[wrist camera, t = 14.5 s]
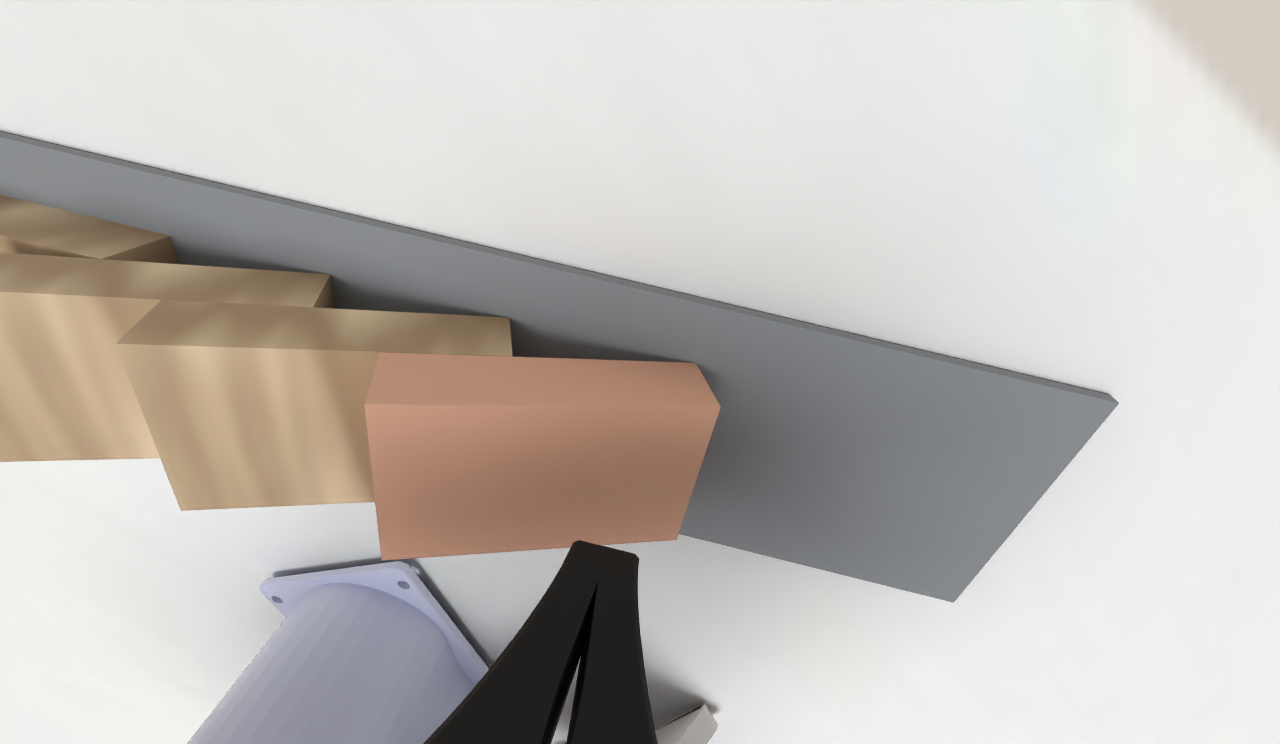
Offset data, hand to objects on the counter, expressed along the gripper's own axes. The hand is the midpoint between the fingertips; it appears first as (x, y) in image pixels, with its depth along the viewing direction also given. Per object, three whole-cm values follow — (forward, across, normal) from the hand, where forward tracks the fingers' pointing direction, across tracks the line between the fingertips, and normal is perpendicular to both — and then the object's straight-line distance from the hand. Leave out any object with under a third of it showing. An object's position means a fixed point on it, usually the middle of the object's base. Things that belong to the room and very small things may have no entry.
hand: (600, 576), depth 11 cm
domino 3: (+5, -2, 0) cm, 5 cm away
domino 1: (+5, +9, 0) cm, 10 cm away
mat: (+6, +5, 0) cm, 8 cm away
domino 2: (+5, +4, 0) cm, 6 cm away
